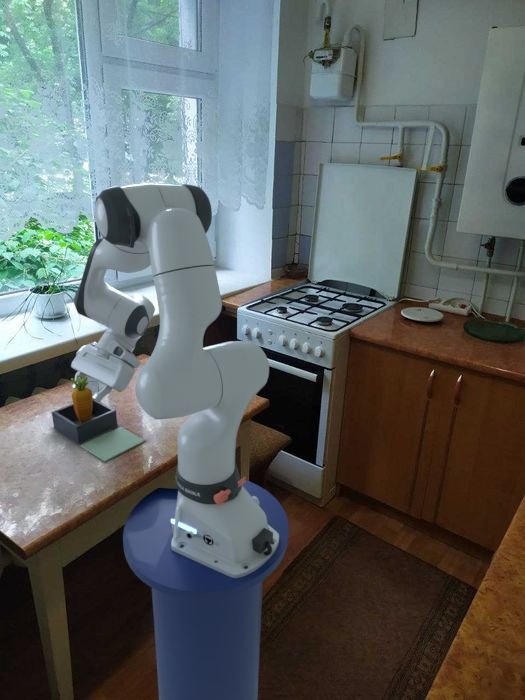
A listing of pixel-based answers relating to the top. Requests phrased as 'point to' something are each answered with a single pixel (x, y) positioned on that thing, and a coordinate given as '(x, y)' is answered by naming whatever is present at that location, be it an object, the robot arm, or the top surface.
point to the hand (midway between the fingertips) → (84, 394)
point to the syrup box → (91, 380)
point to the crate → (88, 429)
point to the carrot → (82, 400)
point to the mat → (112, 443)
